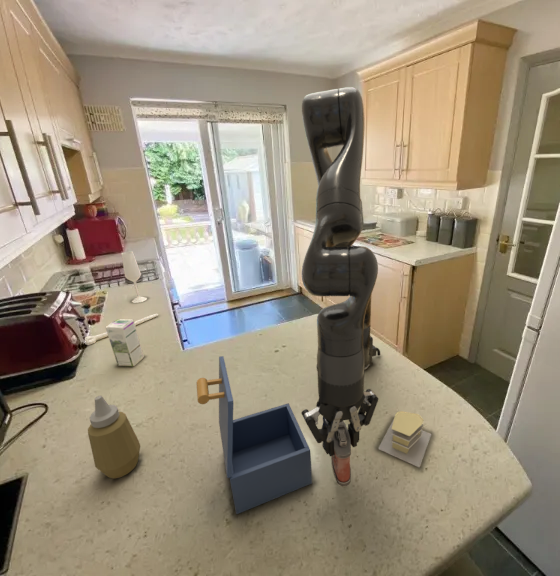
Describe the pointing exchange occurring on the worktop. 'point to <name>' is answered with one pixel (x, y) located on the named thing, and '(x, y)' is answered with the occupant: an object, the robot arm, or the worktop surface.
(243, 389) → the worktop surface
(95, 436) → the squeeze bottle
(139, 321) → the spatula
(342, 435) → the lighter
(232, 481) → the box
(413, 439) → the stacked layers on plate
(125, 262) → the champagne flute
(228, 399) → the blue box lid
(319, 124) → the robot arm
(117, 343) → the syrup box
